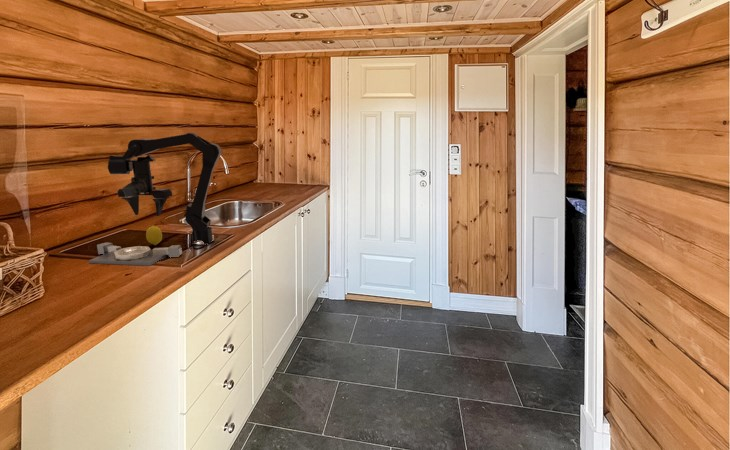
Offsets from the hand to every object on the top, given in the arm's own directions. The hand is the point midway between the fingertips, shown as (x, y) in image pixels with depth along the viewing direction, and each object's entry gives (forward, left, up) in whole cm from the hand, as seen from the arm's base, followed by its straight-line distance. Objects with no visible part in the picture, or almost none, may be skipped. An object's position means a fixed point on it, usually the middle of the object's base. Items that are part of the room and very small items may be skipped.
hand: (147, 215), depth 152 cm
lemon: (-1, -1, -12) cm, 12 cm away
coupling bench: (-3, +14, -12) cm, 19 cm away
